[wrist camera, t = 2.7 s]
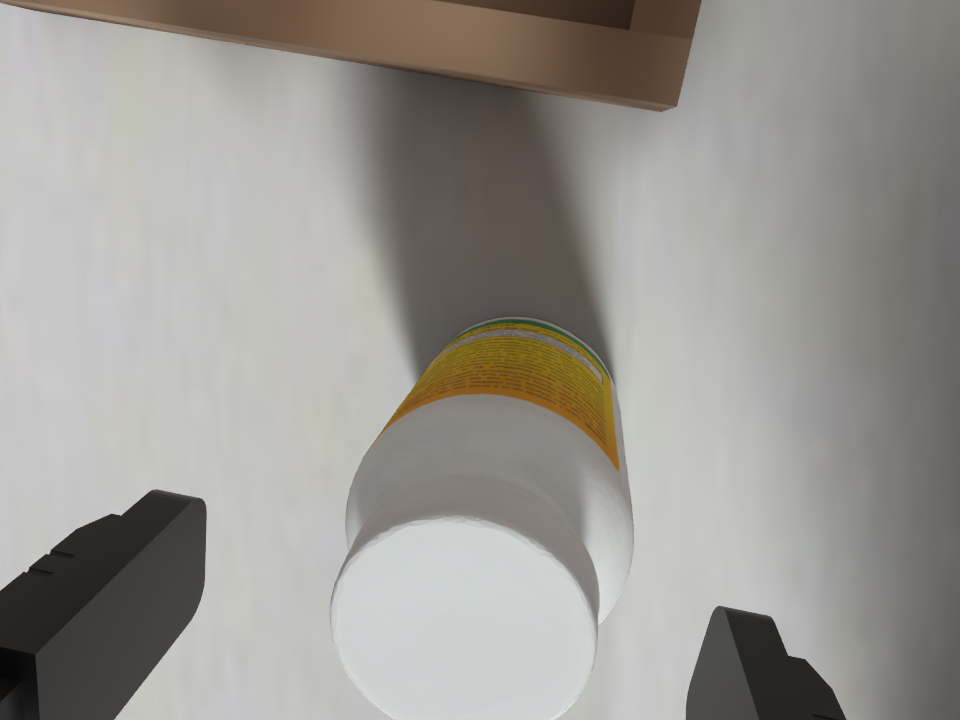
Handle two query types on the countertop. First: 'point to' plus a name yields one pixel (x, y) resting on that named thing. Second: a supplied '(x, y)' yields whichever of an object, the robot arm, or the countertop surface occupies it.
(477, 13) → the tray
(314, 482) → the countertop surface
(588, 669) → the supplement bottle
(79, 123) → the countertop surface
